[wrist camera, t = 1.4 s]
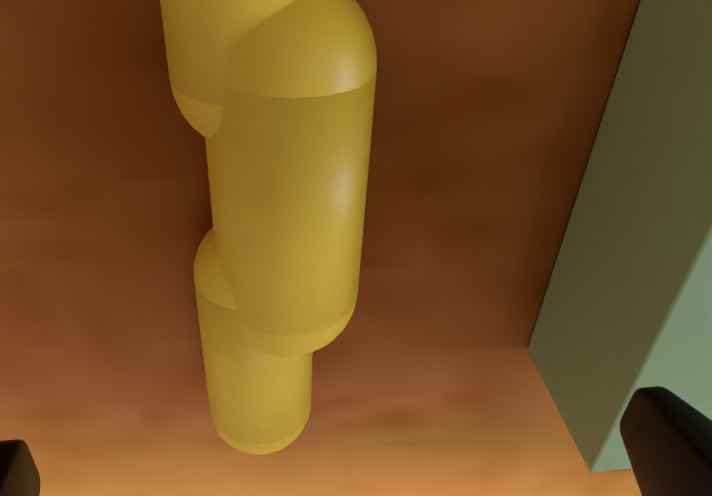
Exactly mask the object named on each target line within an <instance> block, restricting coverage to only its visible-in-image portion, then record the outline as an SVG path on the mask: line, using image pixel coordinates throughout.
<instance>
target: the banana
mask: <svg viewBox="0 0 712 496" xmlns="http://www.w3.org/2000/svg"><path fill="white" fill-rule="evenodd" d="M160 5H161V13H162V21H163V29H164V38H165V46H166V54H167V62H168V71H169V79H170V84H171V89H172V93H173V96H174V98H175V100H176V103H177V105H178V107H179V109H180V111H181V113H182V115H183V116H184V117H185V119H186V120H187V121H188V123H189V124H190V125H191V126H192V127H193V128H194V129H195V130H196V131H198V132H199V133H200V134H201V135H202V136H203V137H205V142H206V153H207V164H208V175H209V186H210V197H211V208H212V219H213V228H212V229H211V230H210V231H209V232H207V234H206V235H205V237H204V238H203V240H202V242H201V243H200V245H199V247H198V250H197V253H196V257H195V260H194V285H195V293H196V301H197V309H198V318H199V326H200V334H201V342H202V351H203V359H204V367H205V375H206V384H207V392H208V400H209V408H210V414H211V418H212V421H213V424H214V427H215V429H216V430H217V432H218V433H219V435H220V436H221V438H222V439H223V440H224V441H225V442H226V443H227V444H229V445H230V446H232V447H234V448H235V449H237V450H239V451H242V452H244V453H249V454H259V455H262V454H269V453H273V452H276V451H279V450H280V449H282V448H284V447H286V446H287V445H288V444H290V443H291V442H292V441H294V440H295V439H296V438H297V437H298V435H299V434H300V433H301V431H302V430H303V428H304V426H305V424H306V422H307V421H308V417H309V414H310V409H311V394H312V361H313V351H316V350H318V349H320V348H322V347H324V346H326V345H327V344H329V343H330V342H332V341H333V340H334V339H335V338H336V337H337V336H338V335H339V333H340V332H341V331H342V330H343V329H344V328H345V326H346V325H347V323H348V321H349V320H350V318H351V316H352V314H353V312H354V308H355V304H356V300H357V295H358V286H359V275H360V263H361V251H362V239H363V228H364V216H365V204H366V192H367V181H368V169H369V157H370V145H371V134H372V122H373V110H374V98H375V87H376V75H377V51H376V45H375V41H374V36H373V32H372V28H371V26H370V24H369V22H368V19H367V17H366V15H365V13H364V11H363V10H362V9H361V7H360V6H359V4H358V3H357V1H356V0H160Z"/></svg>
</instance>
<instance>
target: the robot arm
mask: <svg viewBox="0 0 712 496" xmlns="http://www.w3.org/2000/svg"><path fill="white" fill-rule="evenodd" d="M620 434H621V437H622V440H623V443H624V446H625V449H626V452H627V454H628V457H629V460H630V463H631V466H632V469H633V471H634V474H635V477H636V480H637V483H638V486H639V488H640V491H641V494H642V496H712V420H711V419H709V418H708V417H706V416H705V415H704V414H702V413H701V412H699V411H698V410H697V409H695V408H694V407H692V406H691V405H690V404H688V403H687V402H685V401H684V400H683V399H681V398H680V397H678V396H677V395H676V394H674V393H673V392H671V391H670V390H668V389H667V388H664V387H660V386H655V387H643V388H638V389H637V390H636V391H635V392H634V393H633V395H632V397H631V399H630V401H629V403H628V405H627V407H626V409H625V411H624V413H623V415H622V417H621V420H620ZM39 494H40V476H39V472H38V470H37V468H36V465H35V463H34V460H33V458H32V455H31V453H30V451H29V448H28V446H27V444H26V443H25V442H24V441H23V440H6V441H0V496H39Z"/></svg>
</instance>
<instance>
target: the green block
mask: <svg viewBox="0 0 712 496" xmlns="http://www.w3.org/2000/svg"><path fill="white" fill-rule="evenodd" d="M528 351H529V353H530V355H531V357H532V359H533V361H534V363H535V365H536V367H537V369H538V371H539V373H540V375H541V377H542V379H543V381H544V383H545V385H546V387H547V389H548V391H549V393H550V394H551V396H552V398H553V400H554V402H555V404H556V406H557V408H558V410H559V412H560V414H561V416H562V418H563V420H564V422H565V424H566V426H567V428H568V430H569V432H570V434H571V436H572V438H573V439H574V441H575V443H576V445H577V447H578V449H579V451H580V453H581V455H582V457H583V459H584V461H585V463H586V465H587V467H588V469H589V471H590V472H592V473H593V472H602V471H611V470H621V469H630V468H632V466H631V463H630V460H629V457H628V454H627V452H626V449H625V446H624V443H623V440H622V437H621V434H620V420H621V417H622V415H623V413H624V411H625V409H626V407H627V405H628V403H629V401H630V399H631V397H632V395H633V393H634V392H635V391H636V390H637V389H638V388H643V387H655V386H660V387H664V388H667V389H668V390H670V391H671V392H673V393H674V394H676V395H677V396H678V397H680V398H681V399H683V400H684V401H685V402H687V403H688V404H690V405H691V406H692V407H694V408H695V409H697V410H698V411H699V412H701V413H702V414H704V415H705V416H706V417H708V418H709V419H711V420H712V0H640V4H639V7H638V10H637V13H636V16H635V19H634V22H633V25H632V28H631V31H630V34H629V37H628V41H627V44H626V47H625V50H624V53H623V56H622V59H621V62H620V65H619V68H618V71H617V75H616V78H615V81H614V84H613V87H612V90H611V93H610V96H609V99H608V102H607V105H606V108H605V112H604V115H603V118H602V121H601V124H600V127H599V130H598V133H597V136H596V139H595V142H594V145H593V149H592V152H591V155H590V158H589V161H588V164H587V167H586V170H585V173H584V176H583V179H582V183H581V186H580V189H579V192H578V195H577V198H576V201H575V204H574V207H573V210H572V213H571V216H570V220H569V223H568V226H567V229H566V232H565V235H564V238H563V241H562V244H561V247H560V250H559V253H558V257H557V260H556V263H555V266H554V269H553V272H552V275H551V278H550V281H549V284H548V287H547V290H546V294H545V297H544V300H543V303H542V306H541V309H540V312H539V315H538V318H537V321H536V324H535V328H534V331H533V334H532V337H531V340H530V343H529V346H528Z"/></svg>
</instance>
